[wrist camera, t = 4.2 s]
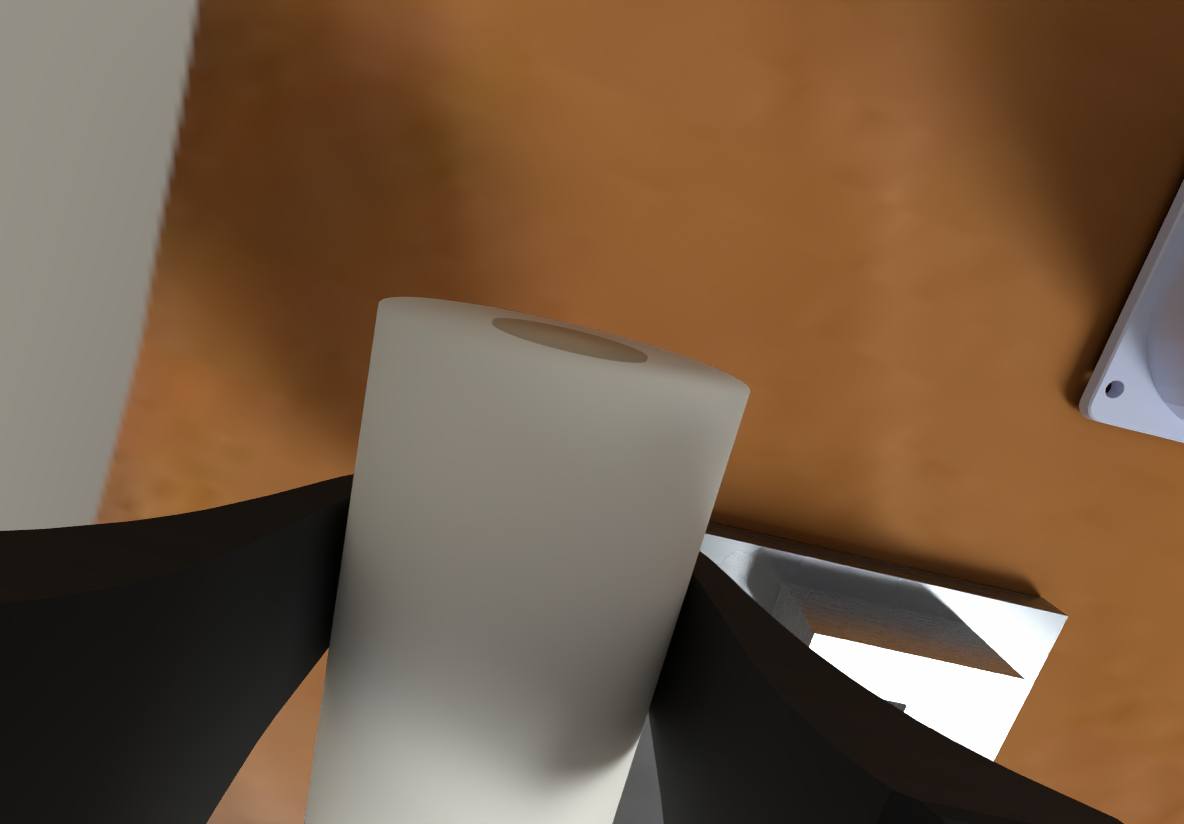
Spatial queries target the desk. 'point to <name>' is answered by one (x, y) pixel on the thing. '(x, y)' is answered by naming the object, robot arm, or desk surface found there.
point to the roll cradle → (884, 640)
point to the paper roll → (511, 565)
